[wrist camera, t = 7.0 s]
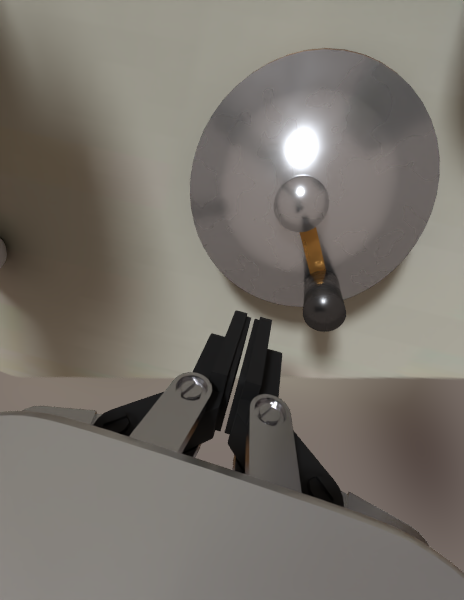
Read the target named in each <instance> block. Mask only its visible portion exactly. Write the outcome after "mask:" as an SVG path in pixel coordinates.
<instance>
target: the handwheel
mask: <svg viewBox="0 0 464 600" xmlns="http://www.w3.org/2000/svg"><path fill="white" fill-rule="evenodd" d="M439 161H440V157H439V150H438V143H437V137H436V134H435V131H434V127H433V124H432V121H431V118H430V116H429V114H428V112H427V110H426V108H425V106H424V104H423V102H422V101H421V100H420V98H419V97H418V95H417V94H416V93H415V91H414V90H413V89H412V87H411V86H410V85H409V84H408V83H407V82H406V81H405V80H404V79H403V78H402V77H400V76H399V75H398V74H397V73H396V72H394V71H393V70H391V69H390V68H388V67H387V66H385V65H384V64H382V63H381V62H378V61H376V60H374V59H371V58H369V57H367V56H365V55H361V54H357V53H353V52H349V51H345V50H330V49H321V50H311V51H303V52H300V53H296V54H292V55H288V56H285V57H283V58H280V59H278V60H276V61H273V62H271V63H269V64H267V65H265V66H263V67H262V68H260V69H258V70H257V71H255V72H254V73H252V74H250V75H249V76H248V77H247V78H246V79H244V80H243V81H242V82H241V83H239V84H238V85H237V86H236V87H235V88H234V89H233V90H232V91H231V92H230V93H229V94H228V95H227V96H226V97H225V99H224V100H223V101H222V102H221V104H220V105H219V106H218V108H217V109H216V111H215V112H214V113H213V115H212V116H211V118H210V120H209V122H208V124H207V125H206V127H205V129H204V131H203V134H202V136H201V139H200V141H199V143H198V146H197V149H196V153H195V157H194V160H193V166H192V172H191V181H190V199H191V209H192V214H193V219H194V224H195V227H196V230H197V233H198V236H199V238H200V240H201V242H202V245H203V247H204V249H205V250H206V252H207V254H208V255H209V257H210V259H211V260H212V261H213V263H214V264H215V265H216V266H217V268H218V269H219V270H220V271H221V272H222V273H223V274H224V275H225V276H226V277H227V278H228V279H229V280H230V281H232V282H233V283H234V284H235V285H237V286H238V287H239V288H241V289H243V290H244V291H246V292H248V293H249V294H251V295H254V296H256V297H258V298H260V299H263V300H266V301H269V302H272V303H276V304H281V305H285V306H296V307H303V317H304V320H305V322H306V323H307V325H308V326H310V327H311V328H313V329H315V330H317V331H331V330H334V329H336V328H338V327H339V326H340V325H341V324H342V323H343V322H344V320H345V317H346V310H345V306H344V301H343V300H344V299H347V298H350V297H352V296H355V295H357V294H359V293H361V292H363V291H365V290H367V289H368V288H370V287H371V286H373V285H375V284H376V283H378V282H379V281H381V280H382V279H383V278H384V277H386V276H387V275H388V274H389V273H390V272H392V271H393V270H394V269H395V268H396V267H397V266H398V265H399V264H400V263H401V262H402V261H403V260H404V258H405V257H406V256H407V255H408V253H409V252H410V251H411V249H412V248H413V247H414V245H415V244H416V242H417V241H418V239H419V237H420V236H421V234H422V232H423V230H424V229H425V226H426V224H427V222H428V219H429V217H430V215H431V212H432V209H433V205H434V202H435V199H436V195H437V189H438V182H439Z"/></svg>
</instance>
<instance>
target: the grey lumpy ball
mask: <svg viewBox="0 0 464 600" xmlns="http://www.w3.org/2000/svg"><path fill="white" fill-rule="evenodd" d="M6 257H7V251H6V247H5V244H4V242H3V241H2V239H1V238H0V268H1V267H2V266H3V264H4V263H5V260H6Z"/></svg>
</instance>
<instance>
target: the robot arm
mask: <svg viewBox="0 0 464 600" xmlns="http://www.w3.org/2000/svg"><path fill="white" fill-rule="evenodd" d="M250 320H251V318H250V317H247V313H244V312H240V311H235V313H234V316H233V318H232V321H231V324H230V326H229V329H228V331H227V334H226V336H225V337H223V336H220V335H216V334H211V335H210V337H209V339H208V341H207V343H206V345H205V347H204V349H203V352H202V354H201V356H200V358H199V360H198V362H197V364H196V366H195V368H194V370H193V372H188V373H183V374H181V375H179V376H177V377H176V378H175V379H174V380H173V381H172V383H171V384H170V385H169V387H168V388H167V389H166V391H165V392H162V393H159V394H156V395H153V396H150V397H147V398H144V399H141V400H138V401H135V402H132V403H130V404H127V405H124V406H121V407H118V408H115V409H112V410H110V411H108V412H105V413H104V414H97V412H96V411H95V410H84V409H72V408H60V407H48V406H33V407H30V408H27V409H24V410H22V411H8V412H7V411H5V412H0V600H464V572H462V571H461V570H460V569H459V568H458V567H457V566H455V565H454V564H453V563H452V562H450V561H449V560H448V559H446V558H445V557H443V556H442V555H441V554H439V553H438V552H437V551H435V550H434V549H433V548H431V547H430V546H429V545H428V543H427V541H426V540H425V539H424V538H423V537H422V535H421V534H420V533H419V532H418V531H416V530H415V529H414V528H412V527H411V526H409V525H408V524H406V523H404V522H402V521H401V520H399V519H397V518H395V517H394V516H392V515H390V514H388V513H386V512H385V511H383V510H381V509H379V508H377V507H376V506H374V505H372V504H370V503H368V502H367V501H365V500H363V499H361V498H360V497H358V496H356V495H354V494H353V493H351V492H348V494H346V493H344V492H342V491H340V488H339V487H338V485H337V484H336V482H335V481H334V479H333V478H332V477H331V476H330V475H329V473H328V472H327V471H326V470H325V469H324V467H323V466H322V465H321V464H320V463H319V461H318V460H317V459H316V458H315V456H314V455H313V454H312V453H311V452H310V450H309V449H308V448H307V447H306V445H305V444H304V443H303V442H302V441H301V439H300V438H299V437H298V436H297V434H296V433H295V432H294V431H293V426H292V419H291V413H290V410H289V408H288V406H287V405H286V403H284V402H283V401H282V400H281V399H279V398H278V396H279V384H280V373H281V362H282V353H280V352H277V351H273V350H270V349H267V348H268V342H269V336H270V330H271V324H272V320H270V319H266V318H262V317H260V320H258V319H255V320H254V324H253V328H252V332H251V335H250V339H249V343H248V347H247V350H246V354H245V358H244V362H243V365H242V369H241V373H240V377H239V380H238V385H237V388H236V392H235V395H234V399H233V403H232V407H231V411H230V414H229V418H228V422H227V426H226V430H225V433H227V434H230V436H229V440H228V445H229V446H230V448H231V450H232V451H233V453H234V459H233V470H230V469H227V468H224V467H221V466H218V465H215V464H212V463H209V462H206V461H202V460H199V459H196V458H195V457H196V455H197V453H198V451H199V449H200V446H201V444H202V443H204V442H206V441H208V440H210V439H212V438H213V436H214V432H215V430H217V431H221V427H222V423H223V420H224V416H225V413H226V409H227V406H228V402H229V399H230V395H231V392H232V388H233V385H234V381H235V378H236V374H237V370H238V367H239V363H240V359H241V355H242V351H243V348H244V344H245V340H246V336H247V332H248V328H249V324H250Z"/></svg>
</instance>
